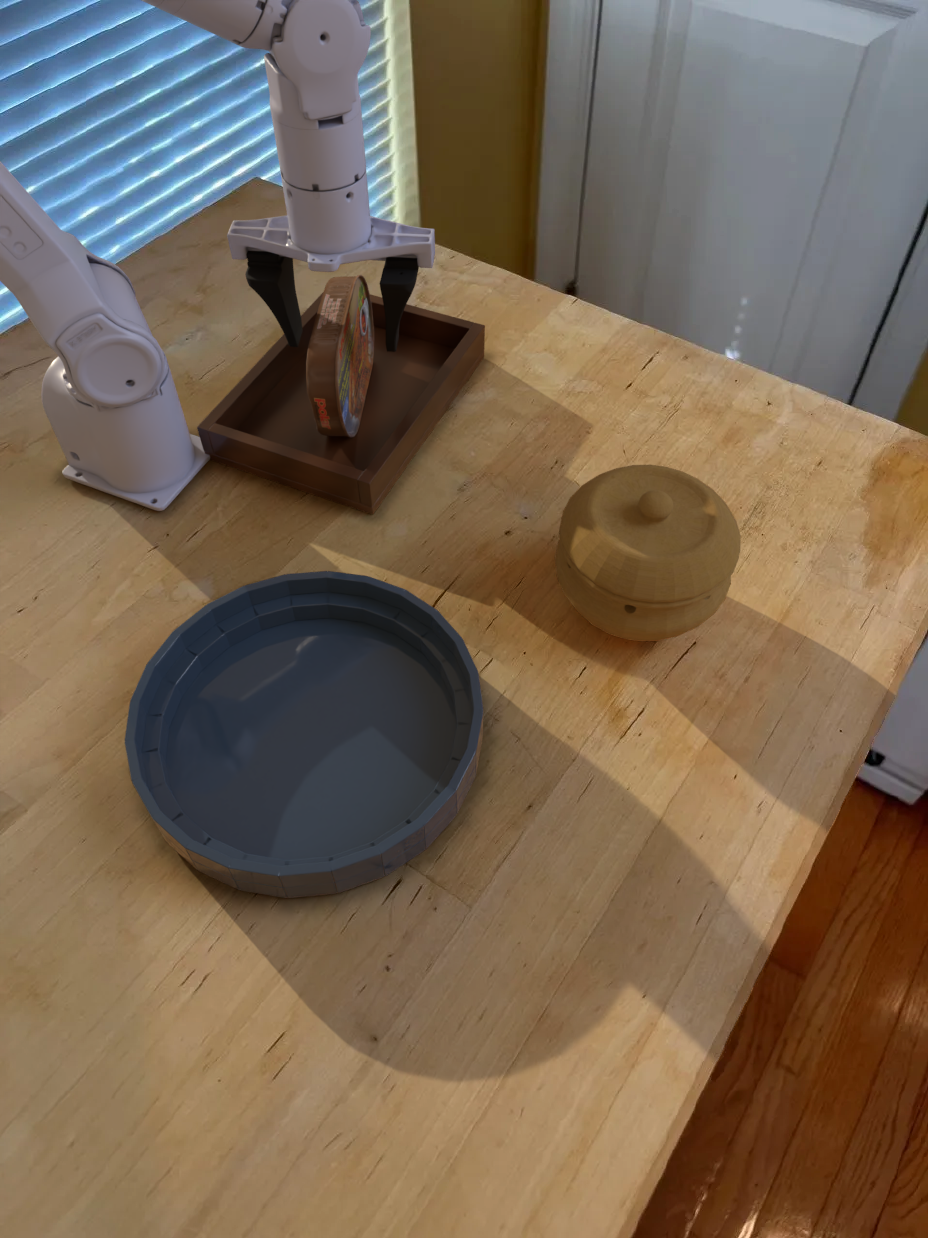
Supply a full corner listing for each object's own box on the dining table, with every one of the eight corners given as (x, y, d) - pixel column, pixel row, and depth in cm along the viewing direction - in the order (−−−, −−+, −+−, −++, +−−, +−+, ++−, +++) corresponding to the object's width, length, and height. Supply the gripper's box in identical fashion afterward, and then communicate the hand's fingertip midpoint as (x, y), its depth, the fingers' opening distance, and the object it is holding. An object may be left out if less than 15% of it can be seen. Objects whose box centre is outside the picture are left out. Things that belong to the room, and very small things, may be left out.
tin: (352, 459, 73) (340, 371, 67) (312, 457, 74) (296, 369, 67) (378, 342, 82) (371, 254, 76) (343, 340, 83) (332, 252, 76)
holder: (205, 458, 75) (196, 426, 72) (335, 315, 86) (330, 283, 84) (373, 515, 71) (369, 483, 68) (484, 357, 82) (485, 324, 80)
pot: (730, 556, 68) (765, 453, 60) (705, 685, 61) (741, 589, 54) (572, 521, 70) (586, 417, 63) (532, 641, 64) (541, 542, 56)
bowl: (69, 812, 56) (49, 785, 53) (259, 566, 68) (250, 533, 65) (385, 961, 51) (381, 939, 48) (532, 666, 62) (535, 635, 60)
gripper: (201, 196, 61) (241, 368, 71) (425, 205, 60) (431, 378, 71) (227, 143, 65) (261, 313, 76) (435, 151, 64) (440, 322, 75)
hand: (344, 341), depth 74 cm, fingers open, 7 cm apart
